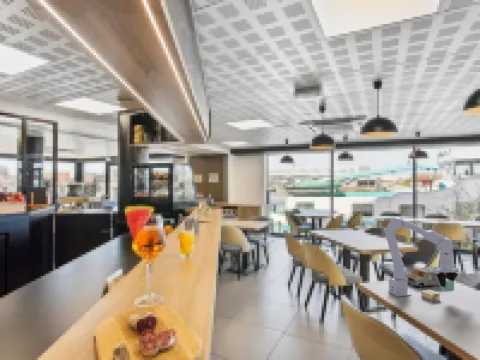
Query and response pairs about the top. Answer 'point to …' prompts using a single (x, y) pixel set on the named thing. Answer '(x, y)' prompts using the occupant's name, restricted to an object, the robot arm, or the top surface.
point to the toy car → (423, 277)
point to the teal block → (448, 285)
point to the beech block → (430, 295)
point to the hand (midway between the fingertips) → (446, 286)
